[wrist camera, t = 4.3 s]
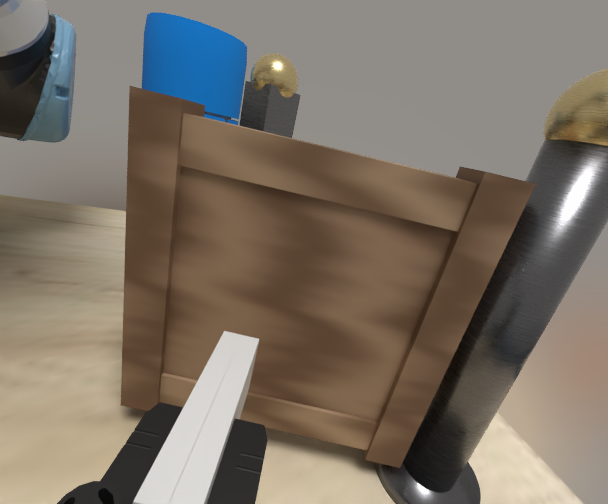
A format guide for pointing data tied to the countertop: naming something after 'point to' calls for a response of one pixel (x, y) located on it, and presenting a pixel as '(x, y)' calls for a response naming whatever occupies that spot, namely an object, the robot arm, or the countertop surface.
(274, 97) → the post
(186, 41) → the thermos
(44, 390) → the countertop surface
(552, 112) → the hinge post
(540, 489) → the countertop surface
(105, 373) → the countertop surface
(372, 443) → the walnut gate
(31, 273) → the countertop surface
